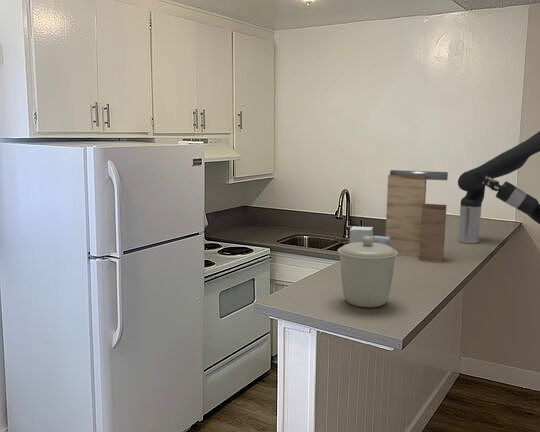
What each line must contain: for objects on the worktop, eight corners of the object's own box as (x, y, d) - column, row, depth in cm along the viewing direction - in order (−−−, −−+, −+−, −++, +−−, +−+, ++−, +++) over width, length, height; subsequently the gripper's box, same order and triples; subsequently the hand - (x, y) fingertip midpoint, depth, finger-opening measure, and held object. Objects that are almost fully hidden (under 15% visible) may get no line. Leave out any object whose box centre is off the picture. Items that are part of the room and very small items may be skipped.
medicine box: (390, 257, 232) (390, 236, 231) (387, 259, 228) (388, 238, 227) (371, 255, 235) (372, 235, 234) (368, 257, 231) (369, 237, 230)
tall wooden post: (420, 256, 233) (423, 203, 229) (443, 258, 230) (446, 204, 226) (419, 260, 227) (421, 205, 223) (442, 262, 224) (445, 207, 220)
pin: (391, 177, 238) (391, 169, 238) (447, 180, 230) (447, 171, 230) (389, 178, 235) (390, 170, 234) (446, 180, 227) (447, 172, 227)
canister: (403, 311, 165) (406, 241, 162) (343, 313, 164) (345, 242, 160) (385, 293, 183) (388, 230, 179) (331, 294, 181) (333, 230, 178)
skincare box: (372, 266, 217) (374, 226, 215) (370, 270, 211) (371, 230, 209) (351, 264, 220) (352, 225, 217) (348, 268, 214) (349, 228, 211)
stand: (387, 250, 245) (390, 173, 240) (422, 252, 240) (426, 175, 235) (384, 253, 239) (388, 175, 233) (420, 256, 234) (425, 176, 228)
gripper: (515, 185, 230) (480, 165, 234) (518, 188, 217) (480, 167, 221) (504, 200, 233) (470, 180, 236) (506, 204, 219) (469, 183, 223)
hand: (475, 173), depth 228 cm, fingers open, 8 cm apart
